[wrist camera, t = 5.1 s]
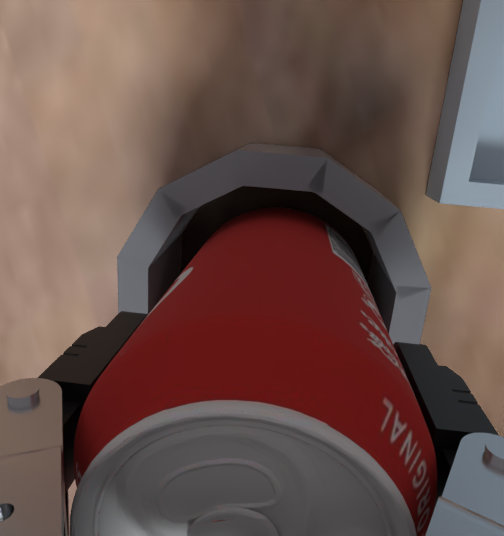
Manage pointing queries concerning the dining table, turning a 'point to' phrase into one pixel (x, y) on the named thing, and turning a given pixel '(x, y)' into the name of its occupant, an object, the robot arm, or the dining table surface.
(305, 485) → the beverage can
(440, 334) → the dining table surface
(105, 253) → the dining table surface
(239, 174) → the sleeve
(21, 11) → the dining table surface
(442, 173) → the tray
